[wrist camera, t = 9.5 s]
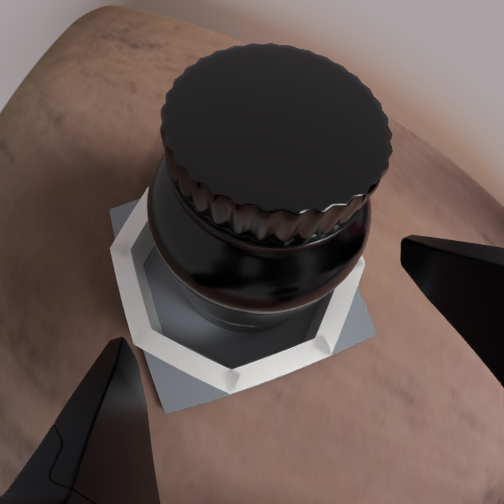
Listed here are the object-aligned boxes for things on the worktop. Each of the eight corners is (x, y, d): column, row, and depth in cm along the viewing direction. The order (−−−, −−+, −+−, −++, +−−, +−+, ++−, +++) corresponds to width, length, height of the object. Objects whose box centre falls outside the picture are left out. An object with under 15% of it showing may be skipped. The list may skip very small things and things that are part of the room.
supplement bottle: (193, 345, 16) (101, 311, 4) (175, 222, 18) (114, 40, 6) (323, 319, 16) (480, 237, 5) (293, 203, 19) (359, 24, 7)
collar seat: (372, 335, 17) (398, 329, 14) (167, 412, 15) (154, 423, 12) (293, 159, 20) (302, 129, 17) (112, 213, 18) (94, 188, 15)
